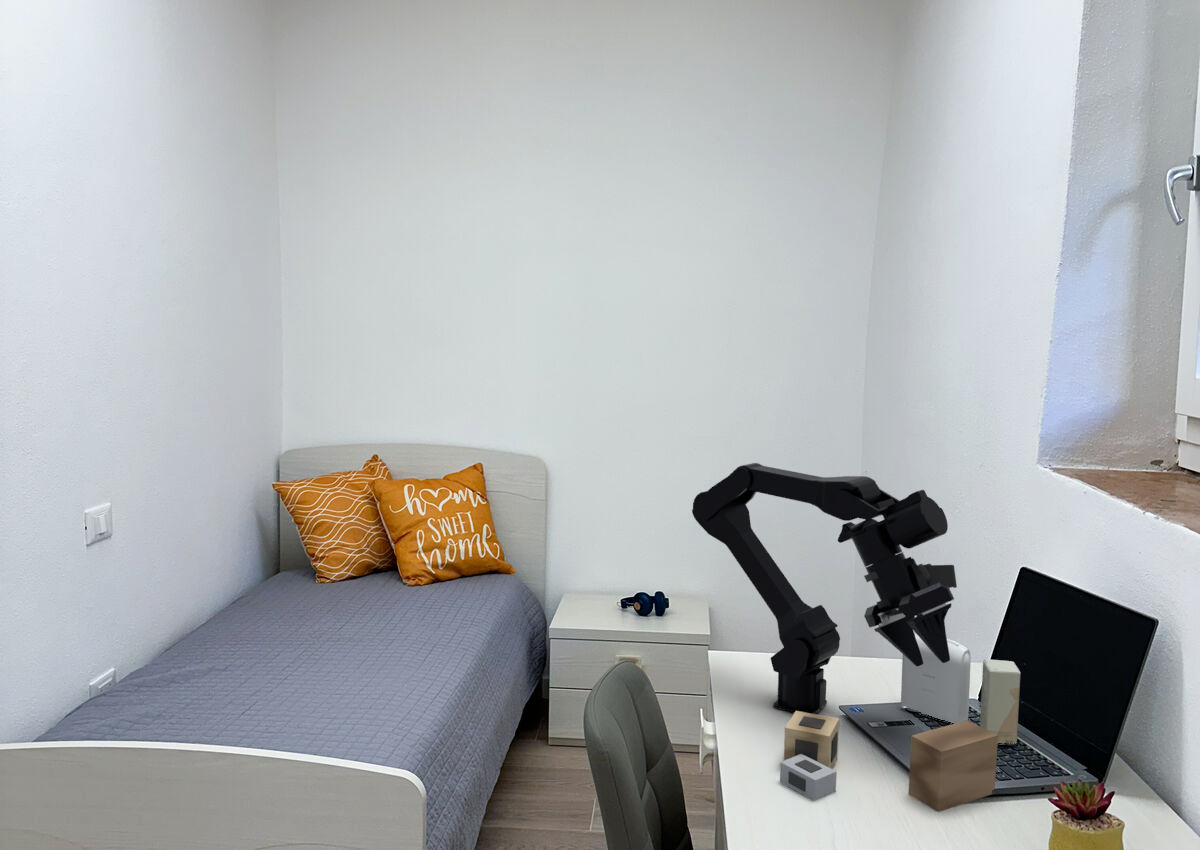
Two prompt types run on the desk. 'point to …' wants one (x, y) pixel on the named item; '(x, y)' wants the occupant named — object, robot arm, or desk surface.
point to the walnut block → (952, 765)
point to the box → (1000, 699)
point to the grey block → (808, 777)
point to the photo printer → (938, 683)
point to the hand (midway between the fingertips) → (932, 663)
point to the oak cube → (812, 738)
